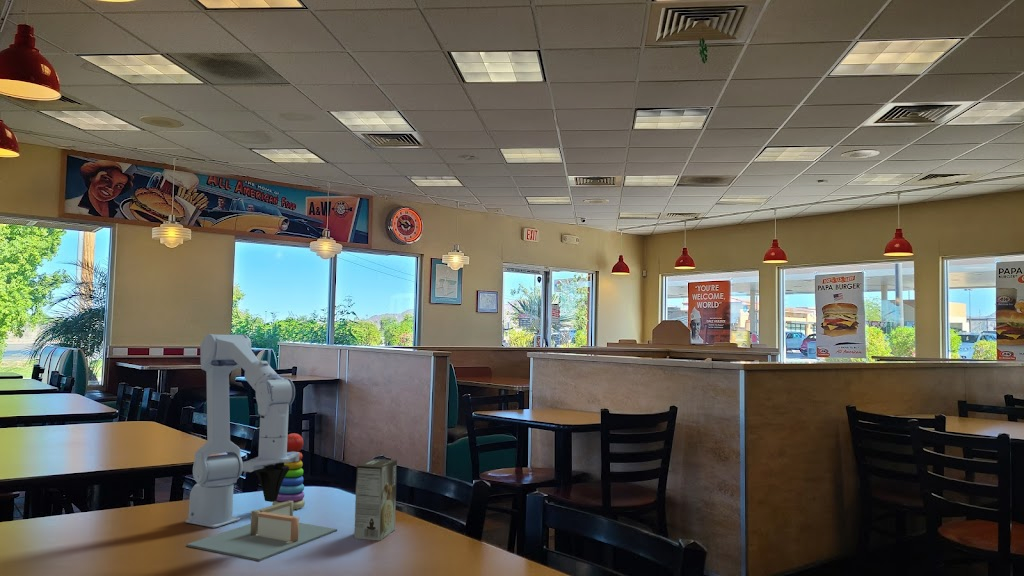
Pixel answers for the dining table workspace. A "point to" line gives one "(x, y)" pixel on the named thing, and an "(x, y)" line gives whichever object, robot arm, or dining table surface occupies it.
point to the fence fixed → (280, 508)
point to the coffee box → (375, 499)
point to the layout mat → (257, 542)
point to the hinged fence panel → (278, 526)
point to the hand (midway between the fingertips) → (270, 500)
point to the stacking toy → (293, 476)
